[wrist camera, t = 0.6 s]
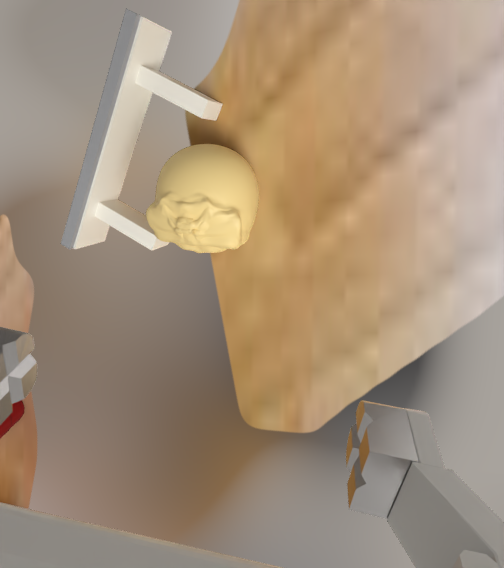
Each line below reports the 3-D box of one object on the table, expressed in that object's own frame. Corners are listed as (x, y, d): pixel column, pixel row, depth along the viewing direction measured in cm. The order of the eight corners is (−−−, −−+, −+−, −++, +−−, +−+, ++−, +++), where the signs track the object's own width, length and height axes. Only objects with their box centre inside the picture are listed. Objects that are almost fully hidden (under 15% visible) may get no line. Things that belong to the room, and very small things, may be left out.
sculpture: (182, 239, 57) (136, 256, 48) (181, 143, 54) (130, 140, 44) (266, 248, 54) (233, 269, 44) (270, 146, 50) (236, 144, 41)
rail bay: (158, 24, 51) (123, 7, 45) (238, 64, 49) (213, 51, 43) (93, 234, 62) (58, 242, 56) (157, 272, 60) (128, 286, 54)
